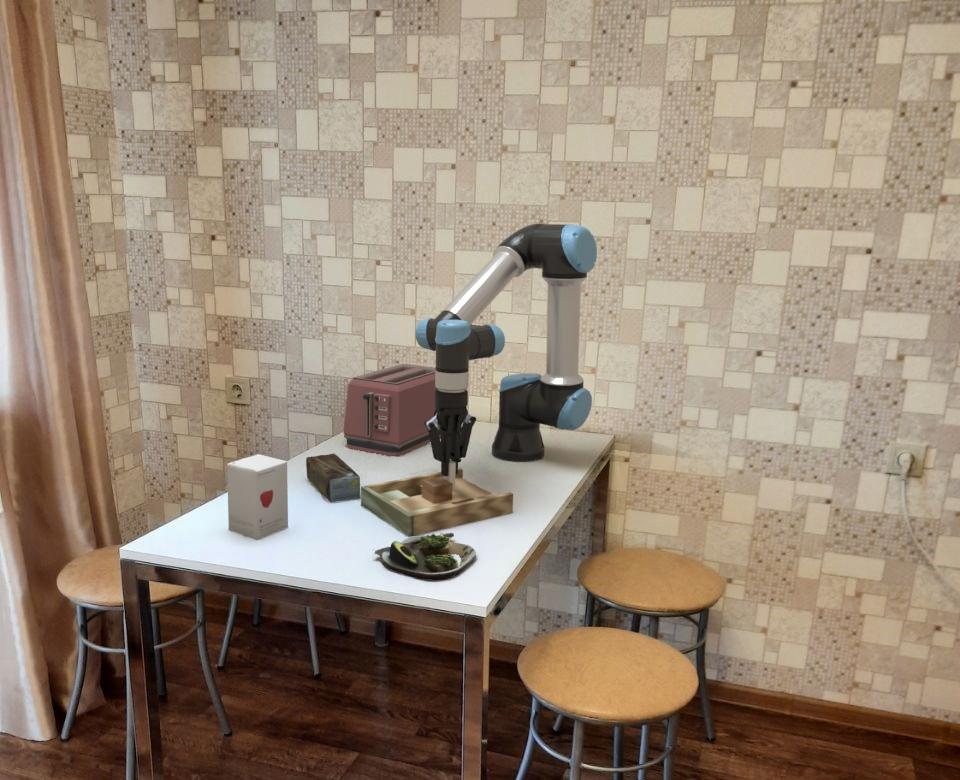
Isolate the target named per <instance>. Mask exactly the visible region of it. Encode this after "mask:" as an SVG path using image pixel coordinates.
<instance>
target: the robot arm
mask: <svg viewBox="0 0 960 780" xmlns="http://www.w3.org/2000/svg"><path fill="white" fill-rule="evenodd" d="M597 256H598V249H597V242H596V239H595V237H594V235H593V234H592V232H591V231H590V230H589V229H588V228H587V227H586V226H582V225H577V224H570V223H569V224H563V223H562V224H561V223H560V224H555V223H554V224H553V223H551V224H550V223H549V224H548V223H533V224H528V225H525V226H524V227H522V228H519V229H518V230H517V231H515V232H513V233H512V234H510V235H509V236H508V237H507V238H505V239H504V240H502V242H500V244H499V245H498V246H496V247H495V249H494V250H493V253H492V257H491V259H490V260H489V261H488V262H487V263H486V264H485V265H484V266H483V267H482V268H481V269H480V270H479V271H478V273H476V275H475V276H474V277H472V279H470V281H469V282H468V283H467V284H466V285H465V286H464V287H463V289H461V290H460V291H459V293H457V295H455V297H454V298H453V299H452V300H451V301H450V302H449V303H448V304H447V305H446V306H445V308H443V310H441V312H440V313H438V315H437V316H436V317H435V318H432V317H430V318H424V319H421V320H420V321H419V322H418V324H417V326H416V328H415V334H414V335H415V339H416V342H417V344H418V345H419V347H421V348H423V349H426V350H428V351H429V350H430V351H433V352H435V367H434V368H436V370H435V387H436V388H438V389H436V390H435V407H436V409H435V412H434V417H433V418H432V419H431V420H430V421H425V423H424V424H425V426H426V428H427V429H428V432H429V437H430V442H431V443H430V446H431V451H432V457H433V459H434V460H436V461H438V462H439V463H440V464H441V465H440V466H441V467H440V472H441V474H442V475H443V476H444V479H445V480H447V481H449V482H451V483H453V488H452V490H455V475H456V474H457V473H458V469H459V463H461V462H462V459H465V458H466V457H467V452H468V449H469V444H470V440H471V434H472V431H473V427H474V425H475V424H476V421H477V417H476V416H473V415H471V414H470V413H469V411H468V408H467V407H468V403H469V402H468V401H469V391H468V388H469V380H470V379H469V371H470V370H469V368H470V361H473V360H480V359H489V358H492V357H494V356H497V355H500V353H502V351H503V350H504V348H505V345H506V344H505V343H506V338H505V337H506V336H505V333H504V331H503V330H502V329H501V328H500V327H499V326H498V325H496V324H487V323H486V324H483V325H477V324H473V323H474V322H475V321H476V320H477V318H478V317H479V316H480V315H481V314H482V313H483V312H484V311H485V310H486V309H487V308H488V307H489V305H490V304H491V303H492V302H493V301H494V299H496V298H497V296H498V295H499V294H500V293H501V292H502V291H503V290H504V289H505V288H506V286H508V285H509V283H510V282H511V281H512V280H513V279H514V278H518V277H521V276H522V275H523V274H524V273H525V271H528V270H531V269H541V278H542V279H543V280H544V281H545V282H546V283H547V284H546V285H547V298H546V299H547V300H546V301H547V304H546V306H547V307H546V309H547V310H546V314H547V315H546V351H545V352H546V355H545V356H546V358H545V359H546V360H545V362H546V363H545V365H546V366H545V367H546V368H545V373H544V374H543V375H542V374H541V373H530V372H528V373H515V374H509V375H505V376H504V377H502V379H500V384H499V390H498V392H499V402H498V405H499V408H498V410H499V411H498V428H497V430H496V432H495V436H494V439H493V443H492V445H491V454H492V456H494V457H495V458H497V459H501V460H504V461H508V462H509V461H510V462H533V461H534V462H535V461H538V460H540V459H543V458H544V457H545V452H546V451H545V449H546V448H545V447H546V446H545V444H544V440H543V436H542V433H541V430H540V429H541V428H540V426H541V425H544V426H549V427H552V428H557V429H559V430H568V431H575V430H577V429H580V427H582V426H583V425H584V424H585V422H586V421H587V419H588V418H589V415H590V413H591V410H592V404H593V399H592V398H593V397H592V394H591V391H589V390H588V389H587V388H584V381H585V380H584V378H583V377H582V376H581V375H580V373H579V360H580V359H579V354H580V325H581V323H580V322H581V319H580V318H581V317H580V316H581V315H580V314H581V291H582V289H581V286H582V283H583V282H584V281H585V280H586V279H587V278H588V277H587V276H588V273H589V272H590V271H591V270H593V268H594V267H595V263H596V261H597V259H598V258H597ZM437 423H438V424H439V426H440V432H441V438H440V437H439V432H438V429H437V427H438V425H437Z"/></svg>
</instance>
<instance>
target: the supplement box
mask: <svg viewBox="0 0 960 780" xmlns="http://www.w3.org/2000/svg"><path fill="white" fill-rule="evenodd" d="M226 470H227V471H226V476H227V479H226V480H227V511H228V512H227V515H228V531H230V532H232V533H233V532H234V533H236V534H239V535H242V536H245V537H248V538H252V539H254V540H256V541H258V540H261V539H264V538H266V537H268V536H270V535H272V534H275V533H278V532H280V531H282V530H285V529H287V528H289V505H288V504H289V501H288V499H289V498H288V496H289V495H288V461H287V460H283V459H279V458H277V457H276V458H275V457H271V456H267V455H263V454H260V453H259V454H258V453H257V454H254V455H251V456H248V457H243V458H240V459H237V460H235V461H231V462H228V463H227V464H226Z"/></svg>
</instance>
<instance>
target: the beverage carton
mask: <svg viewBox="0 0 960 780" xmlns="http://www.w3.org/2000/svg"><path fill="white" fill-rule="evenodd" d="M305 465H306V479H307V480H308V481H309V482H310V483H311V484H312V485H313V486H314V487H315V489H317V490H318V491H319V492H320V494H321V495H322V496H323V497H325V498H326V500H327V501H329V502H330V503H337V502H343V501H349V500H350V501H351V500H357V499H361V476H360V475H359V474H358V473H357V472H356V471H355V470H354V469H352V467H350V466H349V465H348V464H347V463H346V462H345V461H344V460H342V459H341V458H340V457H339V456H338V455H337V454H336V453H329V454H319V455H315V456H307V457H306V459H305Z"/></svg>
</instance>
